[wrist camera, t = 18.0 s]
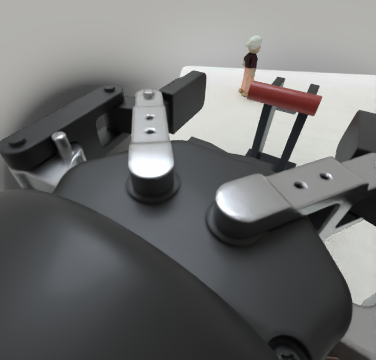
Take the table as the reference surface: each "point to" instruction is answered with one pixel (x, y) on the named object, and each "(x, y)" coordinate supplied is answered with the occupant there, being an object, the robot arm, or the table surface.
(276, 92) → the lever
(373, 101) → the table surface
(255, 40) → the grandmother figurine
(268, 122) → the bracket
